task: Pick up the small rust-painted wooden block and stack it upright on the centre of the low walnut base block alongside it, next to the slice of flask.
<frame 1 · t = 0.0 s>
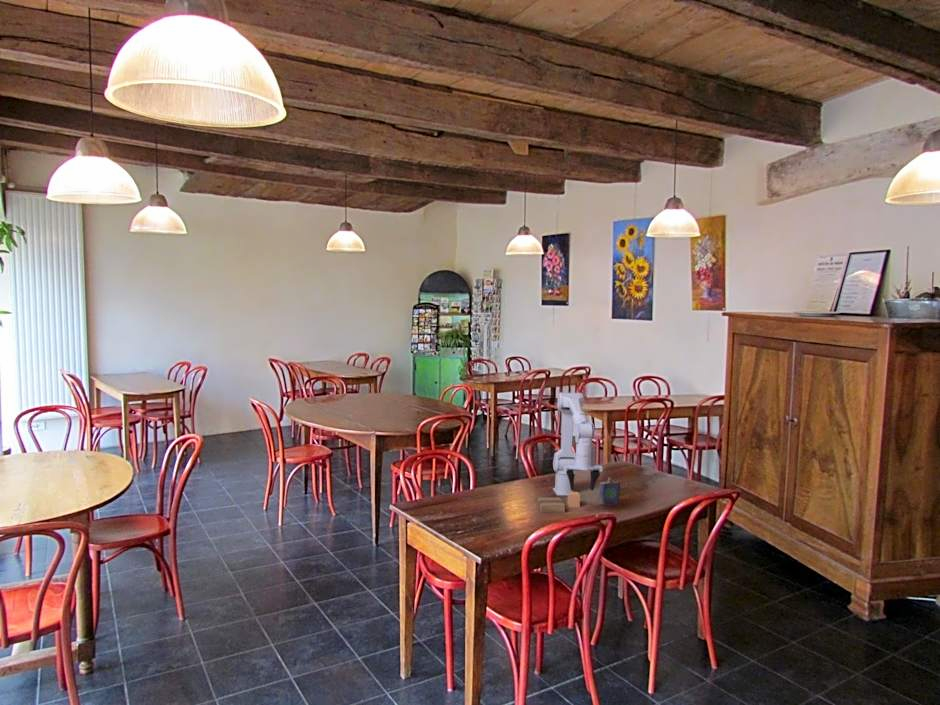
hand: (581, 489, 245), 10 cm above the table, tool pointing down, fingers open, 7 cm apart
flask: (608, 504, 261), on the table
base: (550, 508, 253), on the table
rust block: (573, 505, 258), on the table
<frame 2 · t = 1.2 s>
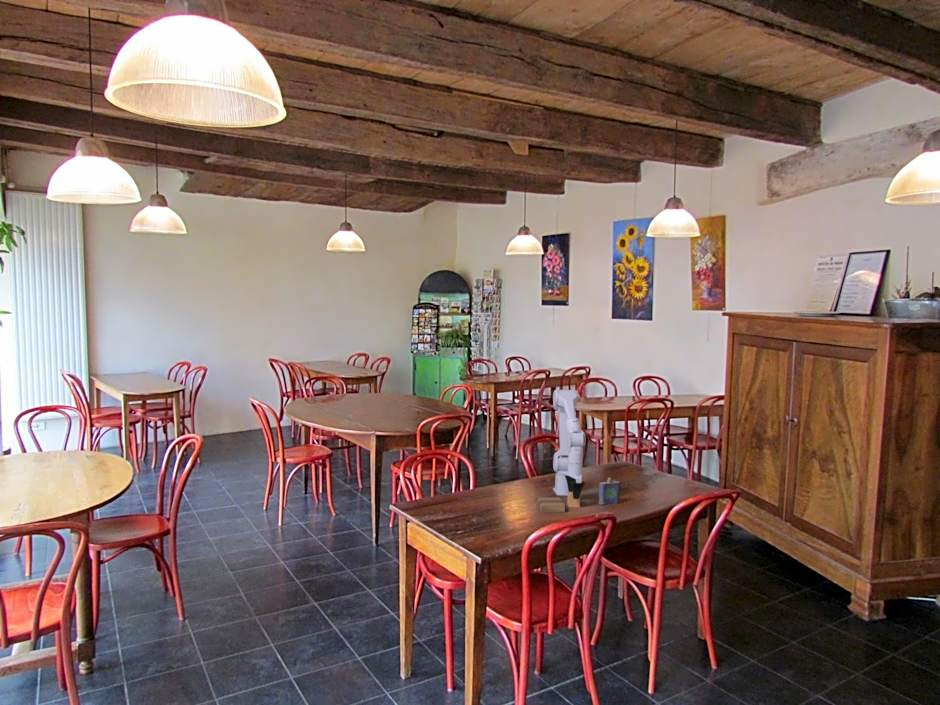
hand: (573, 495, 258), 4 cm above the table, tool pointing down, fingers open, 7 cm apart
nothing on the table moved.
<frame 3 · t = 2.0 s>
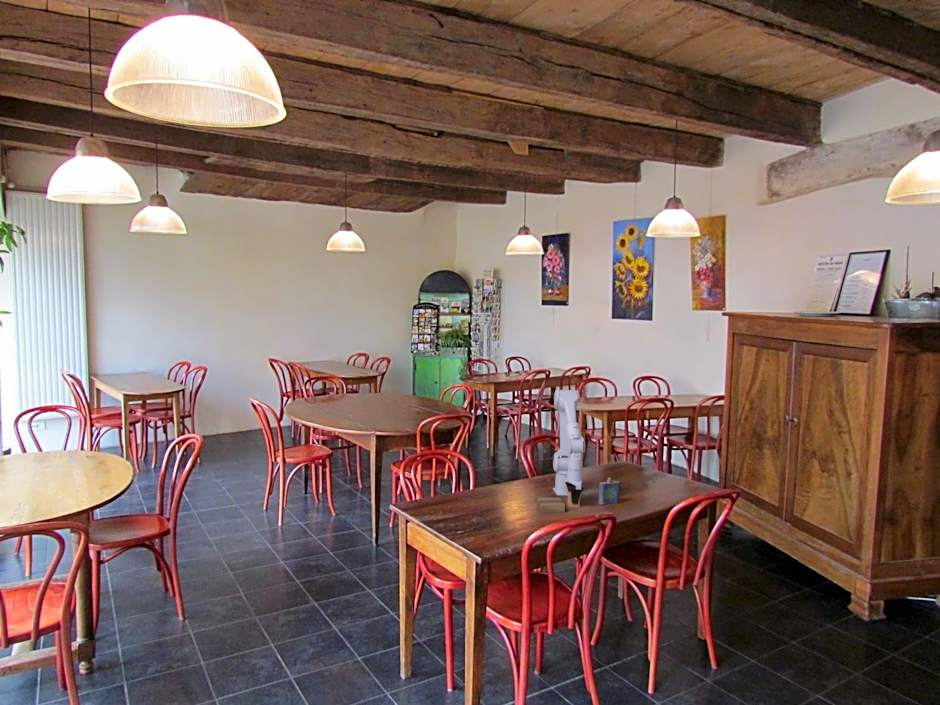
hand: (573, 501, 258), 1 cm above the table, tool pointing down, fingers closed on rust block, 4 cm apart
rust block: (573, 505, 258), on the table, touching gripper
everything else where it was.
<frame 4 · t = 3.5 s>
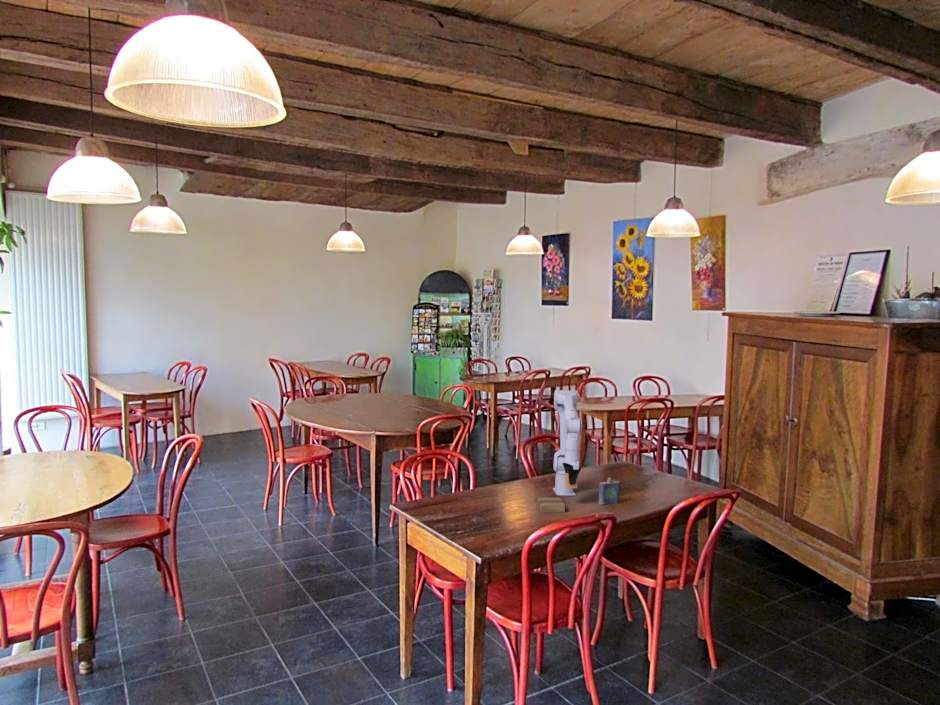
hand: (570, 482, 257), 9 cm above the table, tool pointing down, fingers closed on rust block, 4 cm apart
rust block: (570, 486, 257), point 8 cm above the table, touching gripper
everything else where it was.
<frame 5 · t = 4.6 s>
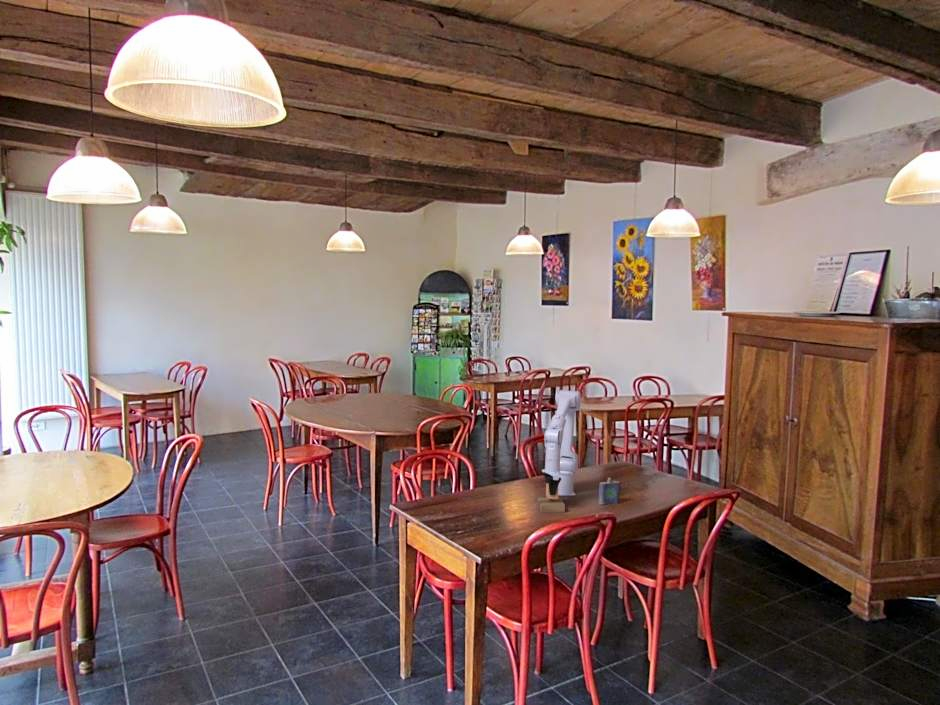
hand: (551, 493, 253), 6 cm above the table, tool pointing down, fingers closed on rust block, 4 cm apart
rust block: (551, 497, 253), point 5 cm above the table, touching gripper
everything else where it was.
when the fingers open (5 cm above the table, at t = 5.2 s): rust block stays where it is, resting on base.
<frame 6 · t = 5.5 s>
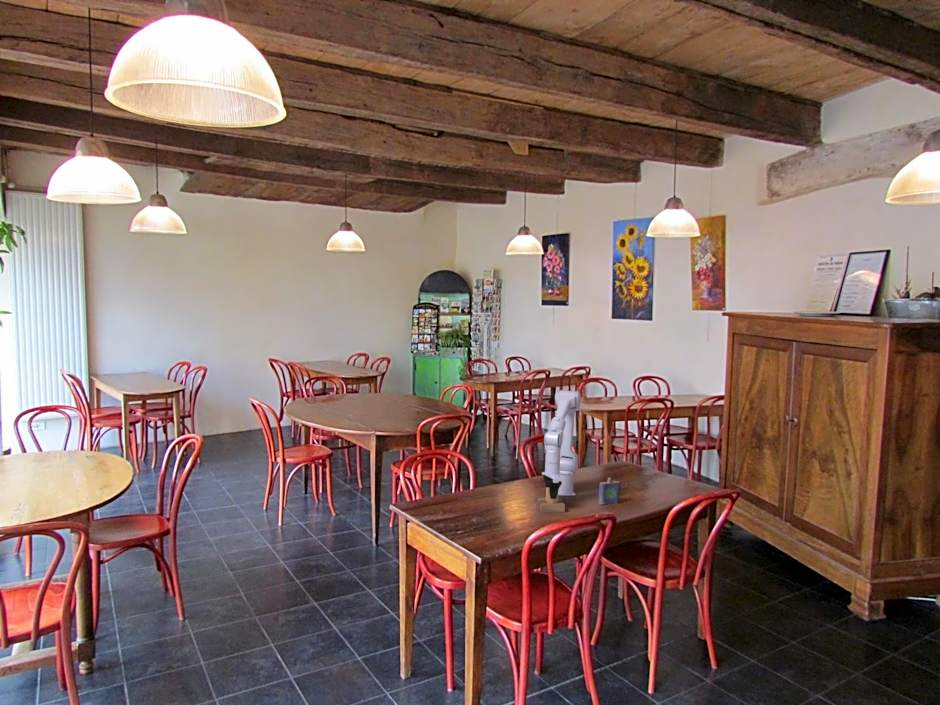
hand: (551, 495, 253), 5 cm above the table, tool pointing down, fingers open, 6 cm apart
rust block: (551, 501, 253), point 3 cm above the table, touching base
everything else where it was.
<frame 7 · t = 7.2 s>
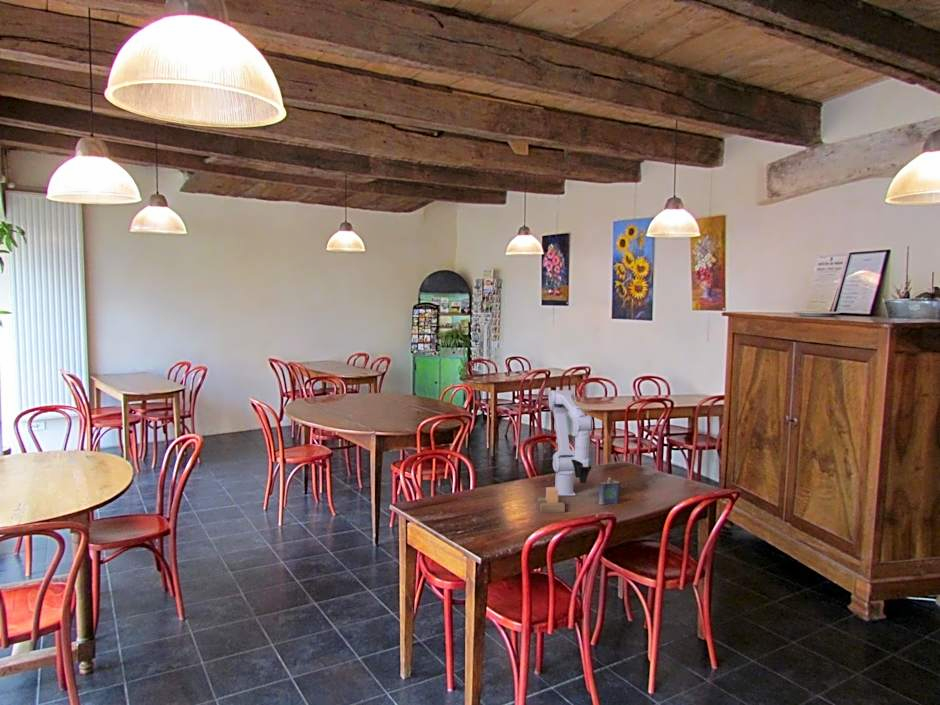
hand: (580, 480, 257), 10 cm above the table, tool pointing down, fingers open, 7 cm apart
nothing on the table moved.
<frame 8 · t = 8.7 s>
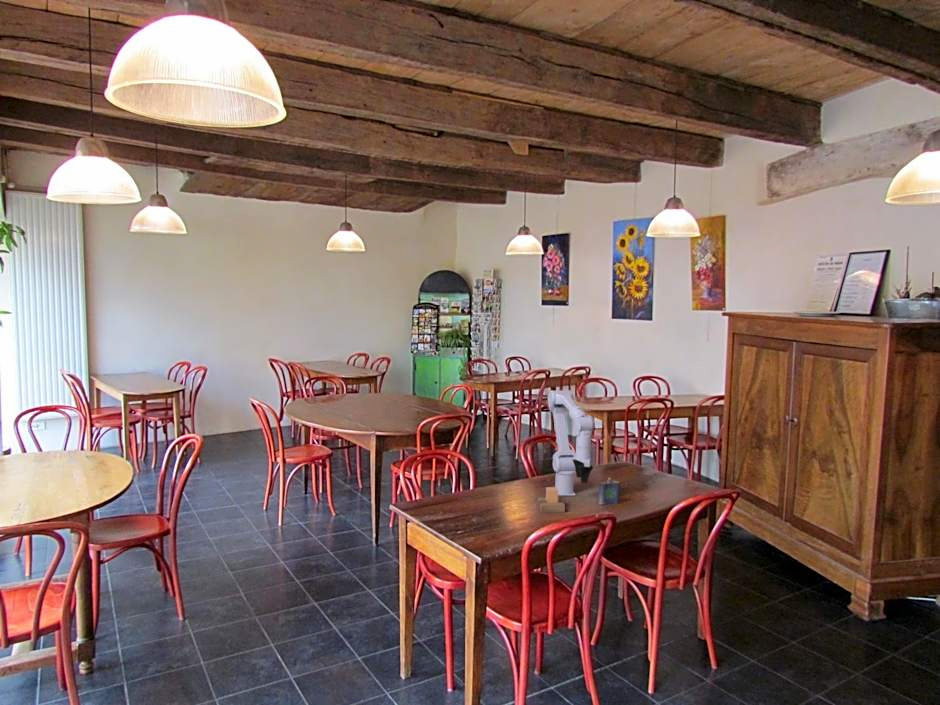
hand: (581, 479, 258), 10 cm above the table, tool pointing down, fingers open, 7 cm apart
nothing on the table moved.
at the end: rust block inside the target area on the base (0.2 cm from its centre), point 3.0 cm above the base's base; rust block tilted 0°; the gripper is holding nothing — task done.
